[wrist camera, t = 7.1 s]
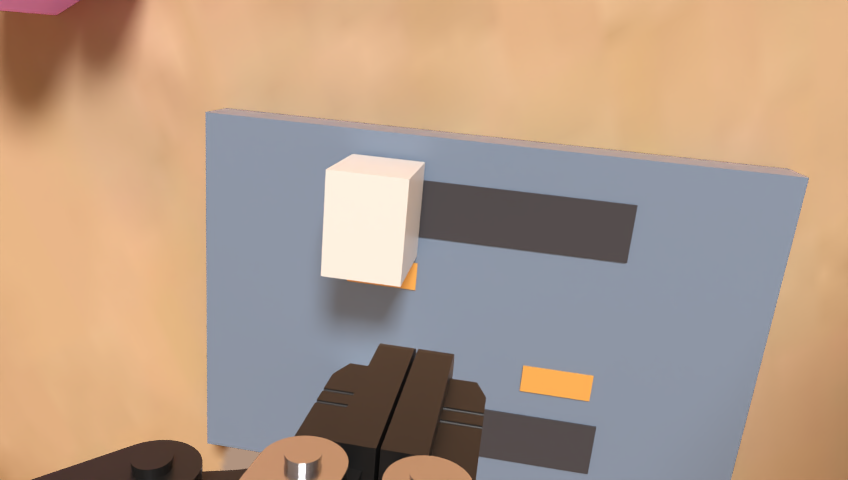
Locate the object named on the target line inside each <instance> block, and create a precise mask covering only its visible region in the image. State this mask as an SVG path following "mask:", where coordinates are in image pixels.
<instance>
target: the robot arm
mask: <svg viewBox="0 0 848 480" xmlns="http://www.w3.org/2000/svg"><path fill="white" fill-rule="evenodd" d="M453 368H454V354H450V353H444V352H437V351H430V350H423V349H418V351H417V352H416V348H409V347H402V346H396V345H389V344H382V343H380V344H379V346H378V348H377V350H376V351H375V353H374V355H373V357H372V359H371V361H370V363H369V365H368V366H365V365H359V364H352V363H350V364H348V365H346V366H345V367H343V368H341V369H340V370H338V371H336V372H335V373H333V374H332V376H331V377H330V379H329V381H328V382H327V384H326V385H325V387H324V391H322V392H321V394H320V395H319V397H318V398H317V402H316V403H314V405H313V407H312V408H311V410H310V412H309V413H308V415H307V416H306V418H305V420H304V421H303V423H302V425H301V426H300V428H299V429H298V431H297V433H296V434H295V436H294V437H288V438H284V439H281V440H279V441H276V442H274V443H272V444H270V445H269V446H268V447H266V448H265V449H264V450H263V451H262V452H261V453H260V454H259V456H258V457H257V458H256V459H255V461H254V462H253V463H252V464H251V466H250V467H249V468H248V469H242V470H228V471H206V472H202V457H201V455H200V453H199V452H198V451H197V450H196V449H195V448H194V447H192V446H190V445H188V444H186V443H183V442H178V441H172V440H156V441H148V442H143V443H140V444H136V445H133V446H130V447H127V448H124V449H121V450H118V451H115V452H112V453H109V454H106V455H103V456H100V457H97V458H94V459H91V460H88V461H85V462H83V463H80V464H77V465H74V466H71V467H68V468H65V469H62V470H59V471H56V472H53V473H50V474H47V475H44V476H41V477H38V478H35V479H32V480H476V474H477V466H478V458H479V450H480V442H481V434H482V426H483V419H484V411H485V403H486V397H485V395H484V393H483V392H482V390H481V388H480V387H479V385H478V383H477V382H471V381H464V380H458V379H452V377H453Z"/></svg>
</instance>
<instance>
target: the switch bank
mask: <svg viewBox="0 0 848 480" xmlns="http://www.w3.org/2000/svg"><path fill="white" fill-rule="evenodd" d="M352 154H358V155H367V156H376V157H385V158H393V159H402V160H411V161H420V162H425V170H424V181H423V192H422V203H421V215H420V226H419V237H418V248H417V257H416V259H415V261H414V262H413V264H412V266H411V268H410V270H409V272H408V274H407V276H406V277H405V279H404V281H403V283H402V285H401V287H397V286H390V285H383V284H375V283H368V282H361V281H353V280H346V279H339V278H331V277H324V276H321V261H322V240H323V218H324V197H325V176H326V169H327V168H329V167H331V166H333V165H334V164H336V163H338V162H340V161H341V160H343V159H345V158H346V157H348V156H350V155H352ZM808 180H809V178H808V177H806V176H804V175H801V174H799V173H797V172H794V171H792V170H790V169H784V168H775V167H766V166H756V165H747V164H738V163H729V162H719V161H710V160H701V159H691V158H682V157H673V156H664V155H654V154H645V153H636V152H627V151H617V150H608V149H599V148H590V147H580V146H571V145H562V144H552V143H543V142H534V141H525V140H515V139H506V138H497V137H488V136H478V135H469V134H460V133H450V132H441V131H432V130H423V129H413V128H404V127H395V126H386V125H376V124H367V123H358V122H348V121H339V120H330V119H321V118H311V117H302V116H293V115H284V114H274V113H265V112H256V111H247V110H237V109H228V108H225V109H220V110H214V111H209V112H206V257H207V435H208V443H209V444H215V445H220V446H226V447H232V448H238V449H244V450H250V451H256V452H262V451H263V450H264V449H265V448H266V447H268V446H269V445H270V444H272V443H274V442H276V441H279V440H281V439H284V438H288V437H294V436H295V434H296V433H297V431H298V429H299V428H300V426H301V425H302V423H303V421H304V420H305V418H306V416H307V415H308V413H309V412H310V410H311V408H312V407H313V405H314V403H316V402H317V398H318V397H319V395H320V394H321V392H322V391H324V387H325V385H326V384H327V382H328V381H329V379H330V377H331V376H332V374H333V373H335V372H336V371H338V370H340V369H341V368H343V367H345V366H346V365H348V364H350V363H352V364H359V365H365V366H368V365H369V363H370V361H371V359H372V357H373V355H374V353H375V351H376V350H377V348H378V346H379V344H380V343H382V344H389V345H396V346H402V347H409V348H416V352H417V351H418V349H423V350H430V351H437V352H444V353H450V354H454V368H453V377H452V379H458V380H464V381H471V382H477V383H478V385H479V387H480V388H481V390H482V392H483V393H484V395H485V397H486V403H485V411H484V419H483V426H482V434H481V442H480V450H479V458H478V466H477V474H476V480H731V477H732V473H733V469H734V465H735V461H736V457H737V454H738V450H739V446H740V442H741V438H742V434H743V430H744V427H745V423H746V419H747V415H748V411H749V407H750V403H751V400H752V396H753V392H754V388H755V384H756V380H757V376H758V373H759V369H760V365H761V361H762V357H763V353H764V349H765V346H766V342H767V338H768V334H769V330H770V326H771V322H772V319H773V315H774V311H775V307H776V303H777V299H778V295H779V292H780V288H781V284H782V280H783V276H784V272H785V268H786V265H787V261H788V257H789V253H790V249H791V245H792V241H793V238H794V234H795V230H796V226H797V222H798V218H799V214H800V211H801V207H802V203H803V199H804V195H805V191H806V187H807V184H808Z"/></svg>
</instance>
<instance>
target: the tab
mask: <svg viewBox="0 0 848 480" xmlns="http://www.w3.org/2000/svg"><path fill="white" fill-rule="evenodd" d="M424 170H425V162H420V161H411V160H402V159H393V158H385V157H376V156H367V155H358V154H352V155H350V156H348V157H346V158H345V159H343V160H341V161H340V162H338V163H336V164H334V165H333V166H331V167H329V168H327V169H326V176H325V197H324V218H323V240H322V261H321V276H324V277H331V278H339V279H346V280H353V281H361V282H368V283H375V284H383V285H390V286H397V287H401V285H402V283H403V281H404V279H405V277H406V276H407V274H408V272H409V270H410V268H411V266H412V264H413V262H414V261H415V259H416V257H417V248H418V237H419V226H420V215H421V203H422V192H423V181H424Z"/></svg>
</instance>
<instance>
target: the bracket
mask: <svg viewBox="0 0 848 480" xmlns="http://www.w3.org/2000/svg"><path fill="white" fill-rule="evenodd" d="M78 1H80V0H0V11H12V12H24V13H36V14H48V15H58V14H59V13H61V12H63V11H64V10H66V9H67V8H69V7H70V6H72V5H74V4H75V3H77V2H78Z"/></svg>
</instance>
